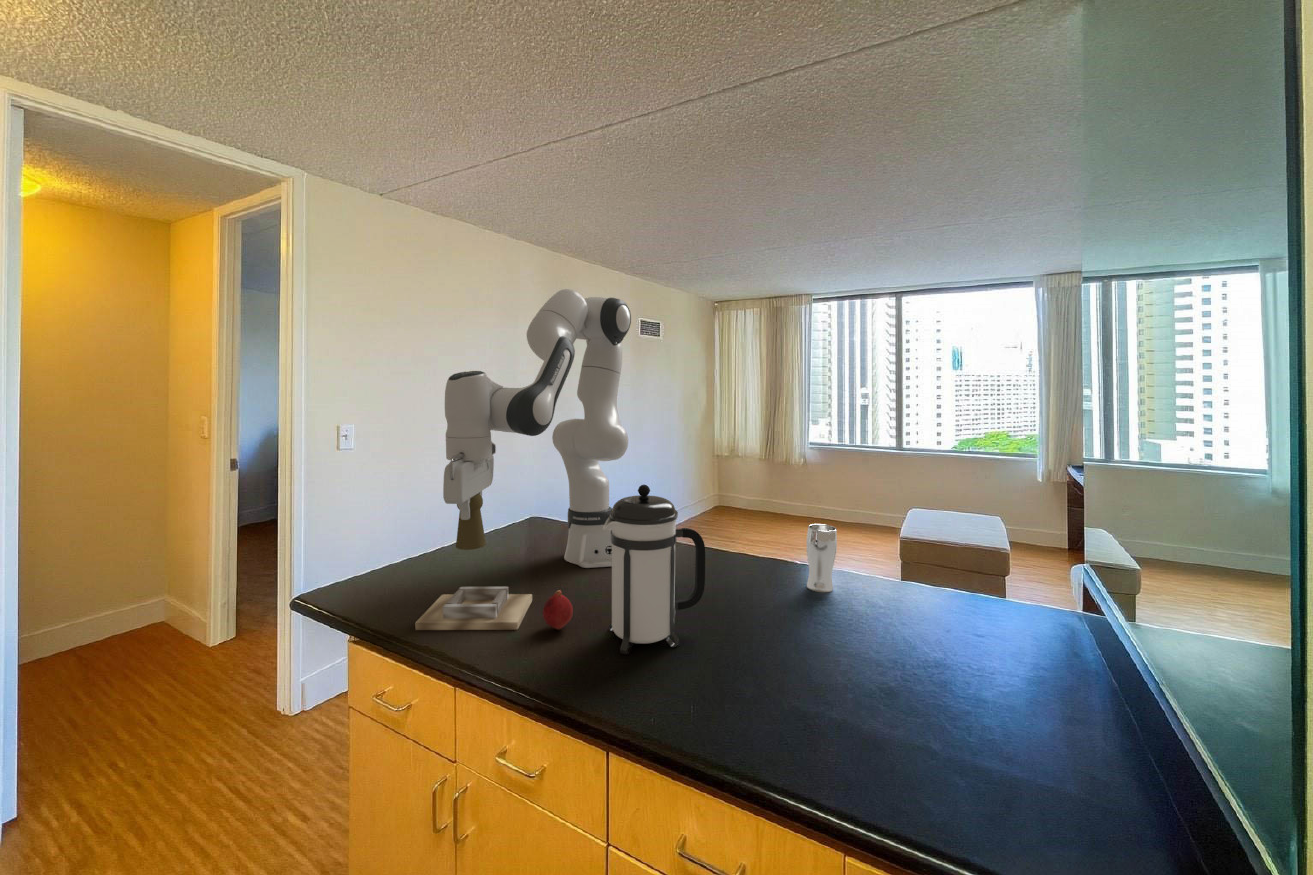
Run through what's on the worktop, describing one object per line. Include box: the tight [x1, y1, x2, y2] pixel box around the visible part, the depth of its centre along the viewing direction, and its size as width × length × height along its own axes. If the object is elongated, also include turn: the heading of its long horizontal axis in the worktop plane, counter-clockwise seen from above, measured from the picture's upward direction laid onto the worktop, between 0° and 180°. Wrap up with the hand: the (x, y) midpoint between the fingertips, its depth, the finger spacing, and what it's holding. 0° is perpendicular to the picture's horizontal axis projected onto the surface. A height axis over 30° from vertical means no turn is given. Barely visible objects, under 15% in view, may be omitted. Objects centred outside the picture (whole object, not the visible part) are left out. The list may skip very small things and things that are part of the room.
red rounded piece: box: [542, 589, 574, 631], centre depth 103 cm, size 6×6×8 cm
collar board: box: [414, 586, 533, 631], centre depth 109 cm, size 20×14×4 cm
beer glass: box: [806, 523, 838, 594], centre depth 125 cm, size 7×7×15 cm
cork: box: [455, 494, 487, 551], centre depth 109 cm, size 6×6×11 cm
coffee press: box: [603, 484, 706, 655], centre depth 99 cm, size 17×16×30 cm
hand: (470, 515), depth 108 cm, fingers closed on cork, 4 cm apart
